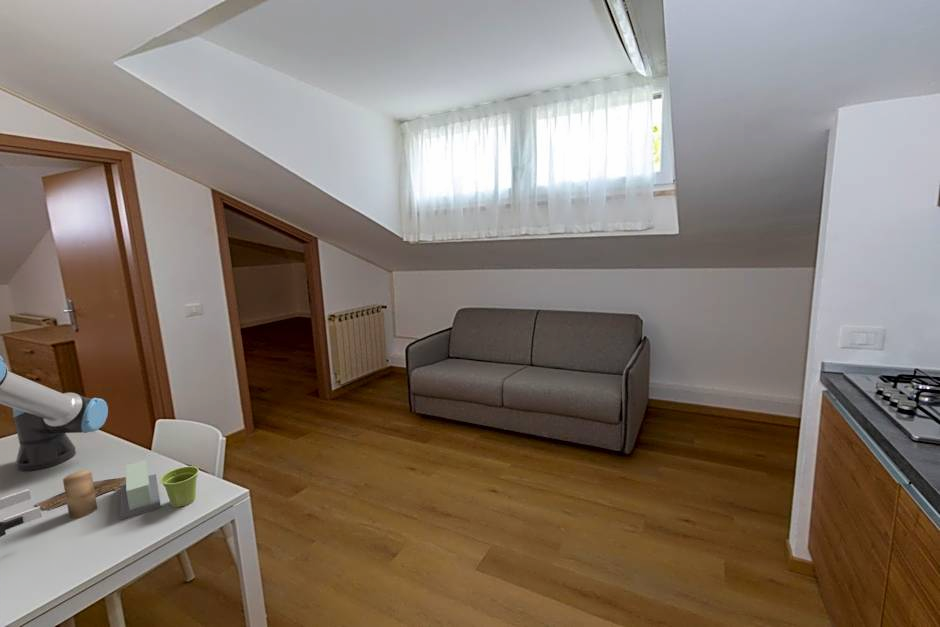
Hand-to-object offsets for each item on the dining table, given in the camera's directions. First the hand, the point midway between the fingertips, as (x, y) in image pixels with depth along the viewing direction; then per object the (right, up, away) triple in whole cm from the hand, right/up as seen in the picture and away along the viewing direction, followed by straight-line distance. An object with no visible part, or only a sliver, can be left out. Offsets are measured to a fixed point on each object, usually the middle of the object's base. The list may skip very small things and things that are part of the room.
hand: (35, 502), depth 114 cm
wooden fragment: (-2, -5, +19) cm, 20 cm away
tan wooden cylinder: (+5, -6, +8) cm, 12 cm away
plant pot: (+31, -6, +13) cm, 34 cm away
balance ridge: (+17, -5, +15) cm, 23 cm away
